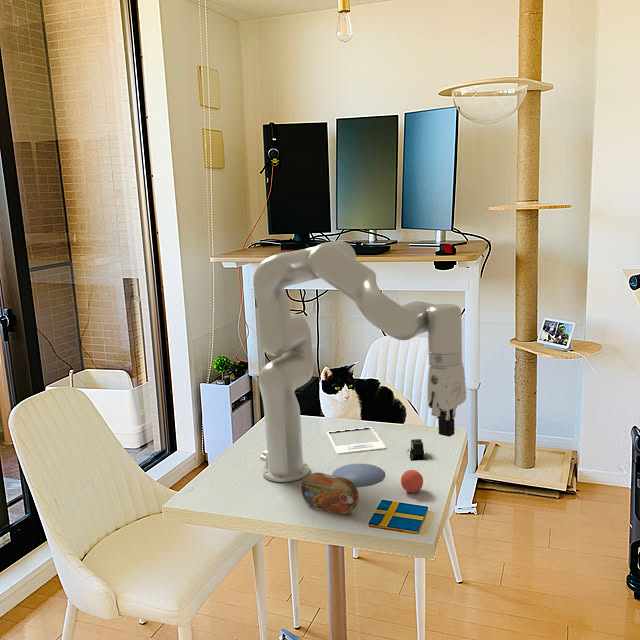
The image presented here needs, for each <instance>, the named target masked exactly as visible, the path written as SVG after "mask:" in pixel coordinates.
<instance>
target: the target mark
mask: <svg viewBox="0 0 640 640" xmlns="http://www.w3.org/2000/svg"><path fill="white" fill-rule="evenodd" d="M331 475H333V476H338V477H342V478H346V479H348V480H350V481H351V482H352V483H353V484H354V485H355V486H356V488H357V487H359V488H361V487H368V486H373V485H375V484H377V483H379V482H381V481H382V480H384V478H385V470H383V469H382V468H381V467H379V466H377V465H373V464H371V463H370V464H369V463H350V464H346V465H342V466H340V467H338V468H336V469H335V470H334V471H333V472H332V474H331Z"/></svg>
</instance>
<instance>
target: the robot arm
mask: <svg viewBox="0 0 640 640" xmlns="http://www.w3.org/2000/svg"><path fill="white" fill-rule="evenodd" d="M252 279H253V280H252V281H253V283H252V284H253V291H254V296H255V297H254V298H255V302H256V303H255V304H256V311H257V314H256V315H257V324H258V334H259V341H260V342H259V343H260V346H261V348H262V350H263V352H264V353H265V354H267V355H268V356H279V355H281V356H280V357H277V358H276V359H274V360H273V359H272V360H271V361H269V362H268V363H266V364H265V365H264V366H263V367H262V369H261V370H260V372H259V374H258V387H259V391H260V394H261V399H262V403H263V412H264V413H263V414H264V424H265V440H266V450H264V451H263V453H262V455H260V456H259V460H260V461H263V462H265V466H264V467H263V469H262V476H263V477H264V478H265V479H267V480H268V481H272V482H276V483H288V482H295V481H298V480H301V479H304V478H305V477H306V476H308V475H309V473H310V466H309V464H308V463H307V462H305V461H304V456H303V441H302V440H303V438H302V423H301V422H302V420H301V409H300V408H301V407H300V404H299V402H298V401H299V400H298V399H297V396H296V393H295V391H296V390H297V389H298V388H301V387H303V386H304V385H305V384H307V383H308V382H310V380H311V379H312V377H313V373H314V356H313V355H314V353H313V345H312V344H313V343H312V334H311V328H310V326H309V324H308V322H307V320H306V319H305V318H304V317H303V316H302V315H301V314H297V313H294V312H293V313H292V312H291V307H290V300H289V297H288V294H287V293H286V291H285V288H287V287H290V286H295V285H298V284H303V283H305V282H310V281H313V280H319V279H321V280H323V281H324V282H326V283H327V284H329V285H330V286H332V287H334V288H335V289H336V290H337V291H338V292H341V293H342V294H343V295H345V296H346V297H348V298H349V299H350V300H352V301H353V302H354V304H355V305H356V307H357V308H358V310H359V311H360V312H361V314H362V315H363V317H364V318H365V319H366V320H367V321H368V322H369V323H370V324H372V326H375V327H376V328H378V329H379V330H381V332H383V333H385V334H386V335H388V336H389V337H391V338H393V339H396V340H399V341H408V340H411V339H413V338H415V337H417V336H418V335H421V334H424V333H427V339H428V340H427V342H428V343H427V347H428V349H427V350H428V353H427V354H428V366H429V368H428V376H427V404H428V405H427V406H428V407H429V408H430V409H431V416H433V417H436V419H437V423H438V435H440V436H444V437H452V436H454V435H455V418H456V415H457V414H456V413H457V408H458V406H460V405H462V404H463V403H464V402H465V401H466V400H467V390H466V389H467V386H466V374H465V368H464V367H465V366H464V364H463V341H462V340H463V339H462V338H463V335H462V334H463V332H462V331H463V329H462V325H463V324H462V323H463V322H462V319H463V318H462V309H461V307H460V306H458V305H457V304H454V303H438V304H436V303H431V302H430V303H429V302H425V301H418V300H417V301H416V300H415V301H410V302H408V303H407V304H404V305H401V304H399V303H397V302H396V301H394V300H392V299H391V298H390V297H388V296H387V295H386V294H385V293H384V292H383V291H382V290H381V288H379V286H378V284H377V274H376V272H375V271H374V270H373V269H371V268H369V267H368V266H366V265H365V264H363V263H362V262H360V261H359V260H357V254H356V252H355V249H354V248H353V247H352V246H351V244H349V243H348V242H346V241H343V240H333V241H328V242H323V243H320V244H317V245H316V246H312V247H307V248H303V249H298V250H292V251H286V252H280V253H276V254H274V255H271V256H269V257H267V258H265V259H263V260H262V261H261V262H260V263H259V264H258V266H257V268H255V271H254V274H253V278H252Z"/></svg>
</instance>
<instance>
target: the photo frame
mask: <svg viewBox="0 0 640 640" xmlns="http://www.w3.org/2000/svg"><path fill="white" fill-rule="evenodd" d="M364 428H368V429H370V431H371V430H372V431H373V430H374V428H373V427H372V426H369V427H358V429H359V430H365V429H364ZM372 428H373V429H372ZM355 429H356V428H348V429H347V430H350V431H356V430H355ZM345 430H346V429H340V430H339V429H338V430H331V431H326V432H325V433H326V435H327V437H328V439H329V441H330V443H331V445H332V446H333V449H334V450H335V453H336V455H337V454H338V455H344V453H345V455H346V454H353V453H354V452H355V453H363V452H372V451H379V450H378V449H381V450H385V449H384V448H386V449H387V446H386V445H385V444H384V442H383V441H382V439H381V438H380V437H379V435H378V434H377V432H376V431H375V430H374V431H375V432H374V431H373V432H372V431H371V432H372V434H373V433H374V434H375V435H374V434H373V435H374V437H375V436H376V437H377V438H376V437H375V438H376V440H377V439H378V440H379V441H378V440H377V441H372V442H371V441H369V442H362V443H353V444H352V443H351V444H345V445H336V443H335V442H334V440H333V438H332V435H331V434H330V433H329V432H331V433H337V432H336V431H340V432H346V431H345ZM371 450H372V451H371Z"/></svg>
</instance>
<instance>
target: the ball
mask: <svg viewBox="0 0 640 640" xmlns="http://www.w3.org/2000/svg"><path fill="white" fill-rule="evenodd" d="M400 478H401V479H400V484H401V487H402V488H403V489H404V491H406V492H408V493H413V494H414V493H417V492H420V490H421V489H422V487H423V486H424V478H423V476H422V474H421V473H420V472H419V471H418V470H415V469H409V470H406V471H404V473H402V475H401V477H400Z"/></svg>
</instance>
